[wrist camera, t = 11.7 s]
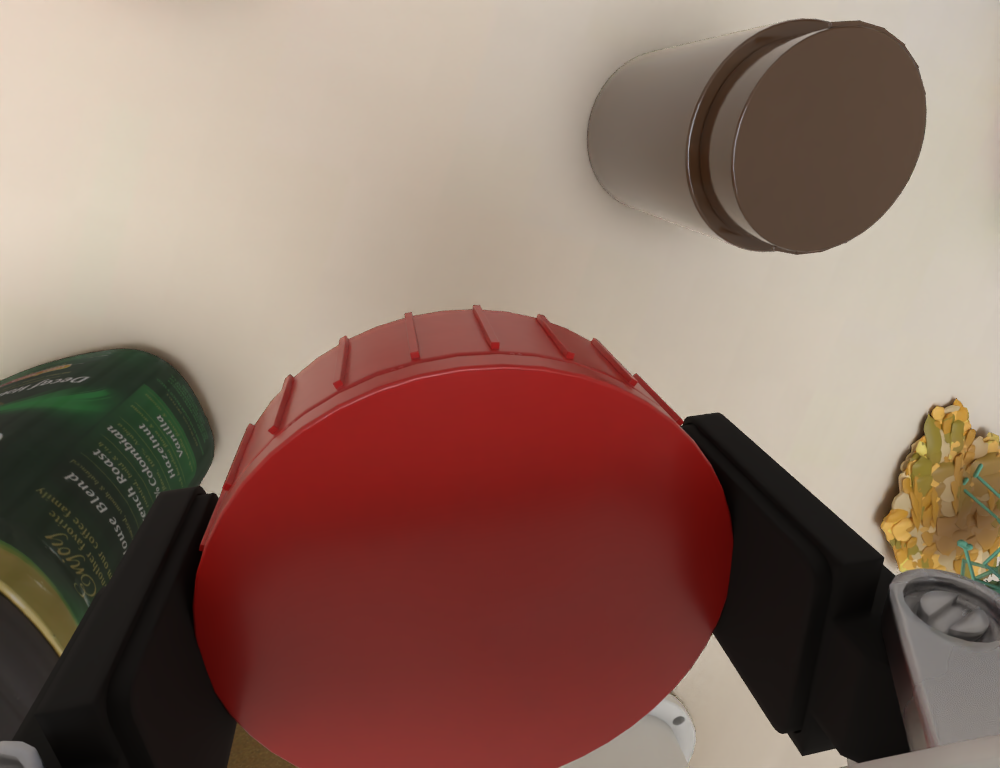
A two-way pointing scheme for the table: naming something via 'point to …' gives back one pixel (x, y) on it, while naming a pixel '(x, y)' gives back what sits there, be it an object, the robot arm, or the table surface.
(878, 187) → the jar
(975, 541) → the yellow green lumpy piece
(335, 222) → the table surface
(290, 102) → the table surface
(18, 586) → the coffee jar
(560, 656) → the lid
